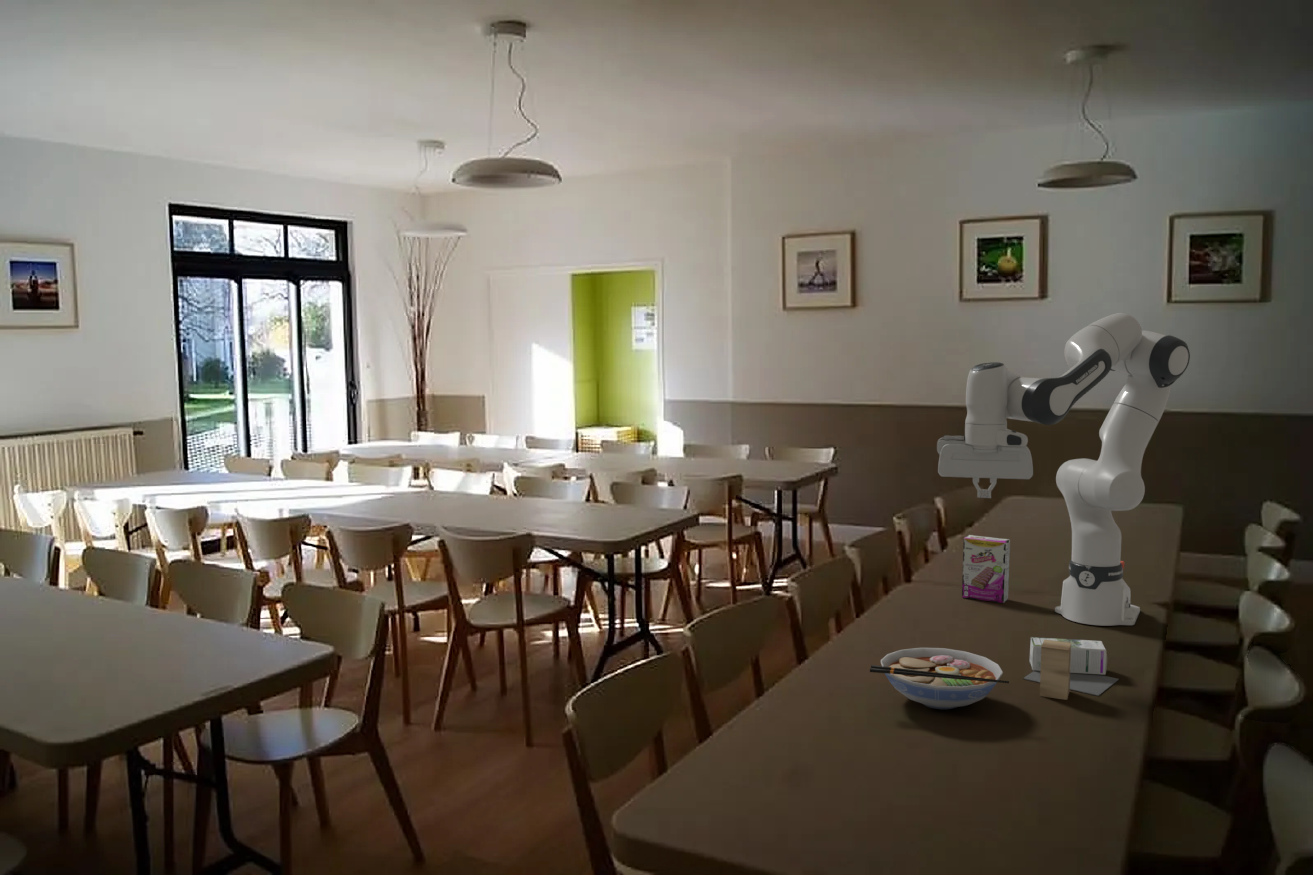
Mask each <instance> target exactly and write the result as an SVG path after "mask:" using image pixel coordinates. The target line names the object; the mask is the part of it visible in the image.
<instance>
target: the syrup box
mask: <svg viewBox="0 0 1313 875" xmlns="http://www.w3.org/2000/svg"><path fill="white" fill-rule="evenodd" d="M1044 639H1045V640H1053V641H1061V642H1069V643H1071V664H1070V673H1083V674H1098V675H1103V676H1106V673H1107V668H1108V667H1107V666H1108V655H1107V653H1108V652H1107V649H1106V648H1105V646H1104V644H1103V641H1101V640H1091V639H1090V640H1088V639H1072V638H1071V639H1069V638H1055V637H1053V638H1052V637H1035V636H1030V645H1029V647H1030V648H1029V664H1030V666H1031V670H1032V671H1041V646H1042V644H1043V641H1044Z"/></svg>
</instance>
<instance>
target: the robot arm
mask: <svg viewBox="0 0 1313 875" xmlns="http://www.w3.org/2000/svg"><path fill="white" fill-rule="evenodd" d="M1190 353H1191V352H1190V350H1189V346H1188V344H1187V343H1186V341H1184V340H1182V339H1181V338H1178V337H1176V336H1174V335H1171V334H1169V335H1166V334H1164V333H1163V334H1162V333H1159V332H1155V331H1151V330H1143V329H1142V326H1141V324H1140V322H1139V321H1138V320H1137V318H1135V317H1134V316H1132V315H1131V314H1129V313H1124V312H1117V313H1112V314H1110V315H1107V316H1103V317H1102V318H1100V319H1098V320H1095V321H1093V322H1091V323H1090V324H1087V325H1086V326H1084V327H1083V328H1081V329H1080V330H1078V331H1077V332H1075V333H1074V334H1073V335H1072V336H1071V337H1070V338H1069V339H1068V340H1067V341H1066V343H1065V346H1064V359H1065V362H1066V364H1067V366H1068V368H1069V369H1068V370H1067V371H1066V372H1064V373H1063V374H1062V375H1060V376H1058V377H1046V378H1045V377H1044V378H1041V377H1026V376H1021V375H1019V374H1016V373H1014V372H1013V371H1011V370H1009V369H1008V368H1007V367H1006V365H1005V363H1002V362H999V361H998V362H997V361H996V362H995V361H993V362H984V363H980V364H976V365H974V366H972V367H971V368H970V370H969V372H968V375H967V380H966V386H965V387H966V388H965V406H966V412H967V414H966V417H965V422H964V423H965V424H964V435H948V434H947V435H946V434H945V435H943V436H942V437H940V438H939V439H938V440H937V442H936V451H937V453H938V455H939V458H938V464H937V465H938V466H937V473H938V474H939V476H940V477H944V478H946V477H947V478H948V477H949V478H972V483H973V486H974V487H975V489H976V491H977V493H976V494H977V495H976V497H977V498H979V499H980V498H981V499H992V491H993V490H994V488H995V487H996V485H997V480H998V479H1006V480H1010V479H1011V480H1030V479H1031V478H1032V477H1033V476H1034V467H1033V466H1034V465H1033V458H1032V454H1031V450H1030V449H1029V446H1027V445H1028V442H1029V439H1028V436H1027V435H1026V434H1025V433H1022V432H1018V431H1016V430H1013V429H1009V428H1008V421H1007V419H1010V420H1018V421H1025V422H1026V421H1027V422H1033V423H1037V424H1041V425H1044V426H1045V425H1046V426H1052V425H1056V424H1058V423H1059V422H1061V421H1062V420H1063V419H1064V418H1065V417H1066V416H1067V414H1069V412H1070V410H1071V409H1072V407H1073V406H1074V405H1075V404H1076V403H1077V401H1079V400H1080V399H1081V398H1082V397H1083V396H1084V395H1086V394H1087V393H1088V392H1089V391H1091V390H1092V389H1093V388H1095V386H1096V385H1098V384H1099V383H1100V382H1101V381H1102V380H1103V379H1105V377H1106V376H1108V374H1109V373H1110V372H1111V371H1112V372H1118V373H1121V374H1124V375H1126V376H1127V378H1126V383H1125V385H1123V387H1122V389H1121V390H1120V392H1119V393H1118V395H1117V396H1116V398H1115V400H1114V402H1113V404H1112V405H1111V407H1110V409H1109V411H1108V413H1107V415H1106V416H1105V419H1104V420H1103V423H1102V425H1101V427H1099V432H1098V434H1099V435H1098V436H1099V439H1100V440H1101V449H1100V453H1099V457H1098V459H1097V460H1096V459H1091V458H1075V459H1069V460H1067V461H1065V462H1063V463H1062V464H1061V465H1060V466H1059V468H1058V469H1057V472H1056V476H1055V482H1056V487H1057V488H1058V490H1059V491H1060V493H1061V494H1062V496H1063V498H1064V501H1065V505H1066V507H1067V512H1068V516H1069V520H1070V525H1071V559H1069V564H1068V574H1069V576H1068V577H1067V578H1065V579H1063V581H1062V589H1061V598H1060V605H1058V606H1055V607H1054V612H1055V613H1057V614H1058V615H1059V614H1060V615H1062V617H1064V618H1065V619H1067V620H1069V621H1072V622H1074V623H1075V622H1076V623H1078V624H1084V625H1091V626H1103V627H1105V626H1134V625H1135V624H1136V622H1137V619H1138V617H1139V615H1140V612H1141V609H1140V608H1141V607H1140V606H1137V605H1134V604H1131V593H1132V592H1131V588H1130V587H1129V585H1128V584H1127V583H1126V581H1125V580H1124V579H1123V578H1124V569H1125V564H1126V563H1125V561H1124V560H1121V553H1122V531H1121V529H1120V527H1119V526H1118V525H1117V523H1116V521H1115V519H1114V517H1113V514H1112V512H1113V511H1114V512H1119V511H1120V512H1123V511H1125V512H1126V511H1130V510H1133V509H1135V508H1136V507H1138V506H1139V504H1140V503H1142V501H1143V499H1144V496H1145V492H1146V486H1145V482H1144V480H1143V478H1142V463H1143V457H1144V454H1145V452H1146V449H1147V447H1148V445H1149V443H1150V441H1151V439H1152V437H1153V434H1154V432H1155V430H1156V428H1157V426H1158V425H1159V422H1160V420H1161V418H1162V417H1163V413H1164V412H1165V410H1166V406H1167V404H1168V400H1169V397H1170V393H1171V389H1172V388H1171V385H1173V384H1174V383H1175V382H1176V381H1177V380H1179V379H1180V377H1181V376H1183V374H1184V373H1185V372H1186V370H1187V369H1188V366H1189V364H1190V357H1191V355H1190ZM980 479H989V483H990V485H989V486H988V488H985V489H984V488H981V487H980V486H979V483H980Z"/></svg>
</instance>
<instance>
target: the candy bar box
mask: <svg viewBox="0 0 1313 875" xmlns="http://www.w3.org/2000/svg"><path fill="white" fill-rule="evenodd" d="M962 547H963V549H962V580H961V584H962V586H961V598H962V599H963V598H964V599H970V600H978V601H979V600H980V601H985V602H993V603H1000V604H1005V602H1006V601H1008V600H1009V578H1010V552H1011V539H1009V538H1000V537H991V536H983V535H975V534H974V535H973V534H968V535H966V536H965V537H963V546H962Z"/></svg>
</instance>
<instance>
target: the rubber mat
mask: <svg viewBox="0 0 1313 875" xmlns="http://www.w3.org/2000/svg"><path fill="white" fill-rule="evenodd" d="M1040 674H1041V671H1034V670H1032V671H1031V672H1030V673H1028V674H1027V675H1026V676H1024V677H1023V678H1022V679H1023V680H1026V681H1030V682H1036V683H1039V684H1040ZM1118 681H1120V680H1119V678H1117V677H1116V678H1115V677H1112V676H1111V677H1110V676H1109V675H1108V676H1106V675H1100V674H1083V673H1070V691H1075V692H1079V693H1082V694H1083V693H1084V694H1087V695H1091V696H1097V697H1099V696H1101V695H1103V693H1104V692H1106V691H1107V690H1108V689H1109V688H1111V687H1112V686H1113V685H1114V684H1116V683H1117V682H1118Z"/></svg>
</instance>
